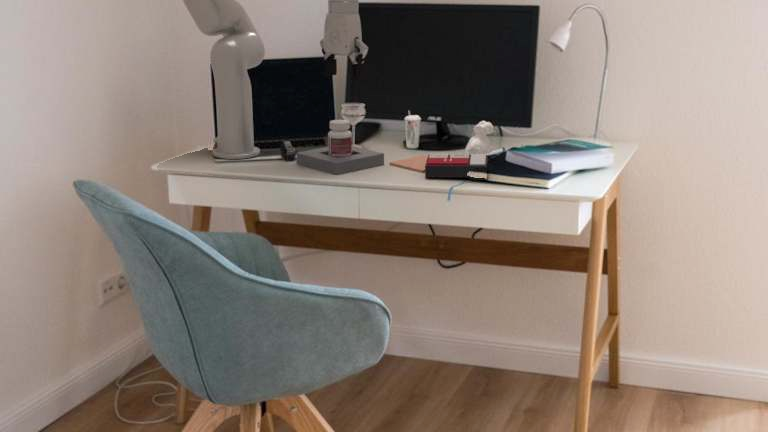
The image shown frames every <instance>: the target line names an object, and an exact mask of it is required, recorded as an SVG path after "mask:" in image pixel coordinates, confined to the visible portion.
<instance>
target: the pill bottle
mask: <svg viewBox="0 0 768 432" xmlns="http://www.w3.org/2000/svg"><path fill="white" fill-rule="evenodd" d="M350 128H351V123H350V122H349V121H348V120H345V119H333V120H332V119H331V120H330V121H329V129H330V130H329V131H328V133H327V147H328V155H329V156H333V157H337V158H341V157H346V156H351V155H352V144H353V134H352V131H351V130H349V129H350Z"/></svg>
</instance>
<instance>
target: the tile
mask: <svg viewBox="0 0 768 432" xmlns="http://www.w3.org/2000/svg"><path fill="white" fill-rule="evenodd" d="M427 158H428V155H423V154H422V155H417V156H412V157H409V158H403V159H399V160H395V161H390V162H389V166H393V167H398V168H401V169H406V170H409V171H414V172H417V173H422V174H424V173H425V165H426V161H427Z"/></svg>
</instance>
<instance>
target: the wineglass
mask: <svg viewBox="0 0 768 432" xmlns="http://www.w3.org/2000/svg"><path fill="white" fill-rule="evenodd" d="M365 106H366V104H365V103H361V102H346V103H345V102H344V103H342V104H341V107H342V109H341V111H340V114H341V117H342V118H343V120H348V121H349V122H350V126H351V128H352V129H351V130H352V131H351V133H352V146H355V147H359V148H363V146H361V145H358V144H355V134H356V133H355V132H356V125H357V124H358V123H361V121H362V120H363V119H365V116H366V108H365Z"/></svg>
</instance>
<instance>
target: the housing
mask: <svg viewBox="0 0 768 432" xmlns="http://www.w3.org/2000/svg"><path fill="white" fill-rule="evenodd" d="M296 164H297V165H299V166H303V167H306V168H310V169H314V170H317V171H321V172H325V173H328V174H332V175H336V176H339V175H343V174H347V173H353V172H356V171H361V170H365V169H371V168H374V167H379V166H384V165H385V153H384V152H380V151H377V150H372V149H366V148H359V147H355V146H352V155H351V156H346V157H341V158H337V157H333V156H329V155H328V146H325V147H320V148H314V149H309V150H305V151H299V152H296Z"/></svg>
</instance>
